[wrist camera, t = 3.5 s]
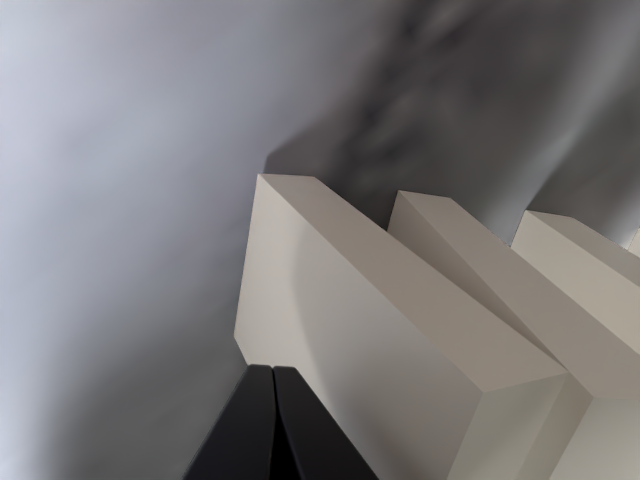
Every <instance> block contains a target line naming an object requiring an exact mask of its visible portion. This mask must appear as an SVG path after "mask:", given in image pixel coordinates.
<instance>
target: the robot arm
mask: <svg viewBox="0 0 640 480" xmlns="http://www.w3.org/2000/svg"><path fill="white" fill-rule="evenodd" d="M181 480H379V478H378V477H377V476H376V474H375V473H374V472H373V470H372V469H371V468H370V466H369V465H368V463H367V462H366V461H365V459H364V458H363V457H362V455H361V454H360V453H359V451H358V450H357V449H356V447H355V446H354V445H353V443H352V442H351V441H350V439H349V438H348V437H347V435H346V434H345V433H344V431H343V430H342V429H341V427H340V426H339V425H338V423H337V422H336V421H335V419H334V418H333V417H332V415H331V414H330V413H329V411H328V410H327V409H326V407H325V406H324V405H323V403H322V402H321V401H320V399H319V398H318V397H317V395H316V394H315V393H314V391H313V390H312V389H311V387H310V386H309V385H308V383H307V382H306V381H305V379H304V378H303V377H302V375H301V374H300V373H299V371H298V370H297V369H296V368H295V367H292V366H278V365H276V366H274V367H273V368H272V367H271V366H270V365H263V364H250V365H249V366H248V367H247V368H246V370H245V372H244V373H243V375H242V377H241V379H240V380H239V382H238V384H237V385H236V387H235V389H234V390H233V392H232V394H231V395H230V397H229V399H228V401H227V402H226V404H225V406H224V407H223V409H222V411H221V412H220V414H219V416H218V417H217V419H216V421H215V423H214V424H213V426H212V428H211V429H210V431H209V433H208V434H207V436H206V438H205V439H204V441H203V443H202V445H201V446H200V448H199V450H198V451H197V453H196V455H195V456H194V458H193V460H192V461H191V463H190V465H189V467H188V468H187V470H186V472H185V473H184V475H183V477H182V478H181Z"/></svg>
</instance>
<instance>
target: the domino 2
mask: <svg viewBox="0 0 640 480" xmlns="http://www.w3.org/2000/svg"><path fill="white" fill-rule="evenodd" d="M387 233H388V234H390V235H391V236H392V237H394V238H395V239H396V240H398V241H399V242H400V243H402V244H403V245H404V246H405V247H407V248H408V249H409V250H411V251H412V252H413V253H415V254H416V255H417V256H419V257H420V258H421V259H422V260H424V261H425V262H426V263H428V264H429V265H430V266H432V267H433V268H434V269H436V270H437V271H438V272H439V273H441V274H442V275H443V276H445V277H446V278H447V279H449V280H450V281H451V282H453V283H454V284H455V285H456V286H458V287H459V288H460V289H462V290H463V291H464V292H466V293H467V294H468V295H469V296H471V297H472V298H473V299H475V300H476V301H477V302H479V303H480V304H481V305H483V306H484V307H485V308H486V309H488V310H489V311H490V312H492V313H493V314H494V315H496V316H497V317H498V318H500V319H501V320H502V321H503V322H505V323H506V324H507V325H509V326H510V327H511V328H513V329H514V330H515V331H517V332H518V333H519V334H520V335H522V336H523V337H524V338H526V339H527V340H528V341H530V342H531V343H532V344H534V345H535V346H536V347H537V348H539V349H540V350H541V351H543V352H544V353H545V354H547V355H548V356H549V357H550V358H552V359H553V360H554V361H556V362H557V363H558V364H560V365H561V366H562V367H564V368H565V369H566V370H567V371H569V374H568V376H567V378H566V380H565V382H564V384H563V386H562V388H561V390H560V392H559V394H558V396H557V398H556V400H555V401H554V403H553V405H552V407H551V409H550V411H549V413H548V415H547V417H546V419H545V421H544V423H543V425H542V427H541V429H540V431H539V433H538V435H537V437H536V439H535V441H534V443H533V445H532V447H531V449H530V451H529V453H528V455H527V457H526V459H525V461H524V462H523V464H522V466H521V468H520V470H519V472H518V474H517V476H516V478H515V480H640V355H639V354H638V353H636V352H635V351H634V350H633V349H632V348H630V347H629V346H628V345H627V344H626V343H624V342H623V341H622V340H621V339H620V338H618V337H617V336H616V335H615V334H614V333H612V332H611V331H610V330H609V329H608V328H606V327H605V326H604V325H603V324H602V323H600V322H599V321H598V320H597V319H596V318H594V317H593V316H592V315H591V314H590V313H588V312H587V311H586V310H585V309H584V308H582V307H581V306H580V305H579V304H578V303H576V302H575V301H574V300H573V299H571V298H570V297H569V296H568V295H567V294H565V293H564V292H563V291H562V290H561V289H559V288H558V287H557V286H556V285H555V284H553V283H552V282H551V281H550V280H549V279H547V278H546V277H545V276H544V275H543V274H541V273H540V272H539V271H538V270H537V269H535V268H534V267H533V266H532V265H531V264H529V263H528V262H527V261H526V260H525V259H523V258H522V257H521V256H520V255H519V254H517V253H516V252H515V251H514V250H513V249H511V248H510V247H509V246H508V245H506V244H505V243H504V242H503V241H502V240H500V239H499V238H498V237H497V236H496V235H494V234H493V233H492V232H491V231H490V230H488V229H487V228H486V227H485V226H484V225H482V224H481V223H480V222H479V221H478V220H476V219H475V218H474V217H473V216H472V215H470V214H469V213H468V212H467V211H466V210H464V209H463V208H462V207H461V206H460V205H458V204H457V203H456V202H455V201H454V200H452V199H451V198H447V197H441V196H434V195H427V194H421V193H414V192H407V191H401V190H398V193H397V197H396V200H395V204H394V207H393V211H392V215H391V218H390V222H389V226H388V229H387Z"/></svg>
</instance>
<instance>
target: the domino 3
mask: <svg viewBox="0 0 640 480" xmlns="http://www.w3.org/2000/svg"><path fill="white" fill-rule="evenodd" d="M510 248H511V249H513V250H514V251H515V252H516V253H517V254H519V255H520V256H521V257H522V258H523V259H525V260H526V261H527V262H528V263H529V264H531V265H532V266H533V267H534V268H535V269H537V270H538V271H539V272H540V273H541V274H543V275H544V276H545V277H546V278H547V279H549V280H550V281H551V282H552V283H553V284H555V285H556V286H557V287H558V288H559V289H561V290H562V291H563V292H564V293H565V294H567V295H568V296H569V297H570V298H571V299H573V300H574V301H575V302H576V303H578V304H579V305H580V306H581V307H582V308H584V309H585V310H586V311H587V312H588V313H590V314H591V315H592V316H593V317H594V318H596V319H597V320H598V321H599V322H600V323H602V324H603V325H604V326H605V327H606V328H608V329H609V330H610V331H611V332H612V333H614V334H615V335H616V336H617V337H618V338H620V339H621V340H622V341H623V342H624V343H626V344H627V345H628V346H629V347H630V348H632V349H633V350H634V351H635V352H636V353H638V354H639V355H640V258H639V257H637V256H636V255H634V254H633V253H631V252H629V251H628V250H626V249H624V248H623V247H621V246H619V245H618V244H616V243H614V242H613V241H611V240H609V239H608V238H606V237H604V236H603V235H601V234H599V233H598V232H596V231H594V230H593V229H591V228H589V227H588V226H586V225H584V224H583V223H581V222H579V221H578V220H576V219H574V218H573V217H568V216H561V215H555V214H549V213H542V212H536V211H530V210H525V212H524V214H523V217H522V219H521V222H520V224H519V227H518V229H517V232H516V234H515V237H514V239H513V242H512V244H511V247H510Z"/></svg>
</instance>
